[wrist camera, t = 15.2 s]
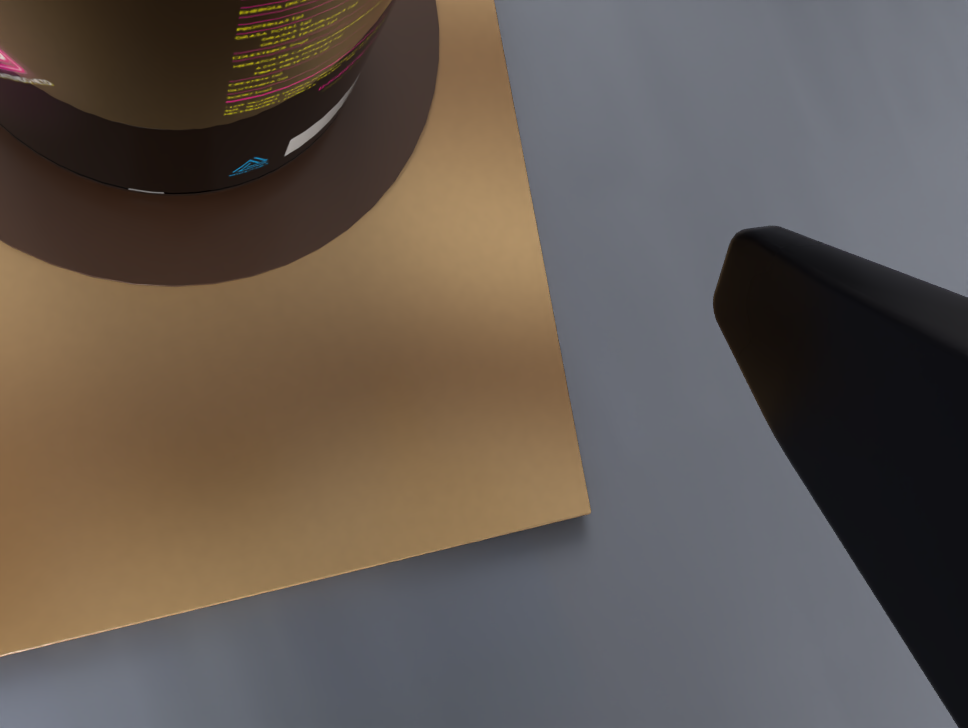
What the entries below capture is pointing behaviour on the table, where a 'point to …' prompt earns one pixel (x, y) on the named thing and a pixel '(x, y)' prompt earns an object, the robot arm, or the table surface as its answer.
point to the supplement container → (179, 85)
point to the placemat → (281, 356)
